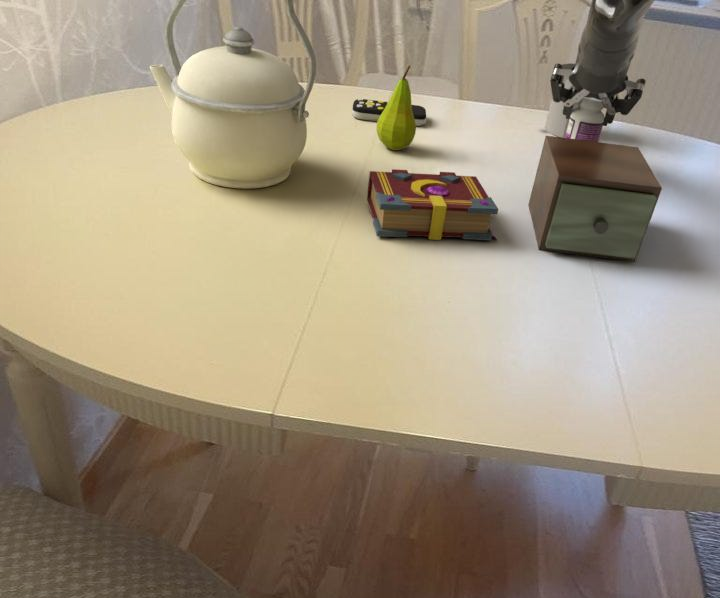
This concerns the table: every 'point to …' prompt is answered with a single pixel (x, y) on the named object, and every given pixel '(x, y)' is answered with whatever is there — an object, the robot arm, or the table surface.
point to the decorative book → (429, 205)
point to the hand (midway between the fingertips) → (587, 117)
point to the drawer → (599, 220)
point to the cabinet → (585, 178)
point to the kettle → (237, 108)
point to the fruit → (397, 118)
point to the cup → (559, 113)
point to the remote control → (375, 108)
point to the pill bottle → (586, 120)
